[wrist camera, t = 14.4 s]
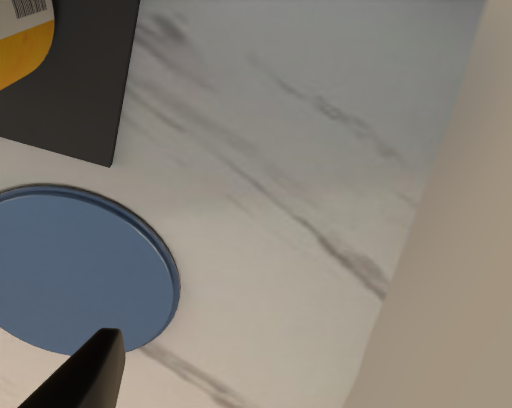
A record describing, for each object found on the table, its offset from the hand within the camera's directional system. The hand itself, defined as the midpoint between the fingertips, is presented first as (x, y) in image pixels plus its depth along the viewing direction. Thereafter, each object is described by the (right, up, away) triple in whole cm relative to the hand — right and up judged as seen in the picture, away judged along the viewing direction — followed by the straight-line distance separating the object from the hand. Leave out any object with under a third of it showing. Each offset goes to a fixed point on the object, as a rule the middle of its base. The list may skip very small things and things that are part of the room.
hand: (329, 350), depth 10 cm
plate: (-12, -1, +16) cm, 20 cm away
